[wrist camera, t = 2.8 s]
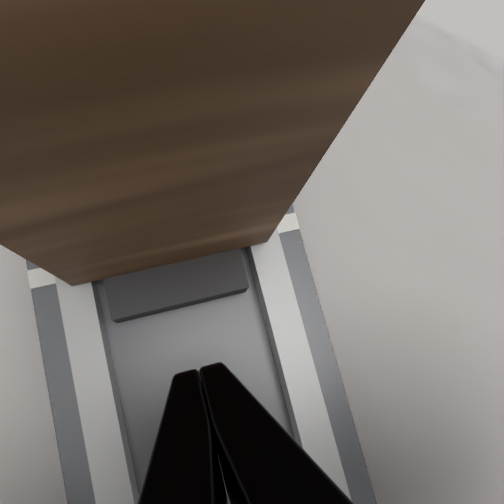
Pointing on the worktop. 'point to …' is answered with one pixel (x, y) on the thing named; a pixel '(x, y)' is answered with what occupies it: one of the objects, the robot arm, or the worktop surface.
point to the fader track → (192, 357)
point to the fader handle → (172, 132)
